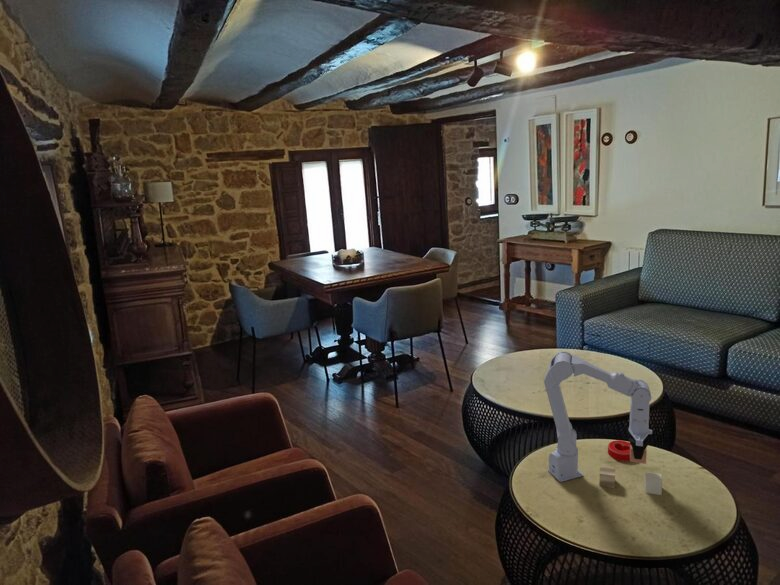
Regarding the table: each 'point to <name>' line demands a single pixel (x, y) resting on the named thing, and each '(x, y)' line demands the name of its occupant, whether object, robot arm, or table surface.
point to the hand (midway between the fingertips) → (637, 454)
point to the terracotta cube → (637, 459)
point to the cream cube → (653, 483)
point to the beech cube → (607, 476)
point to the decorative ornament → (624, 450)
